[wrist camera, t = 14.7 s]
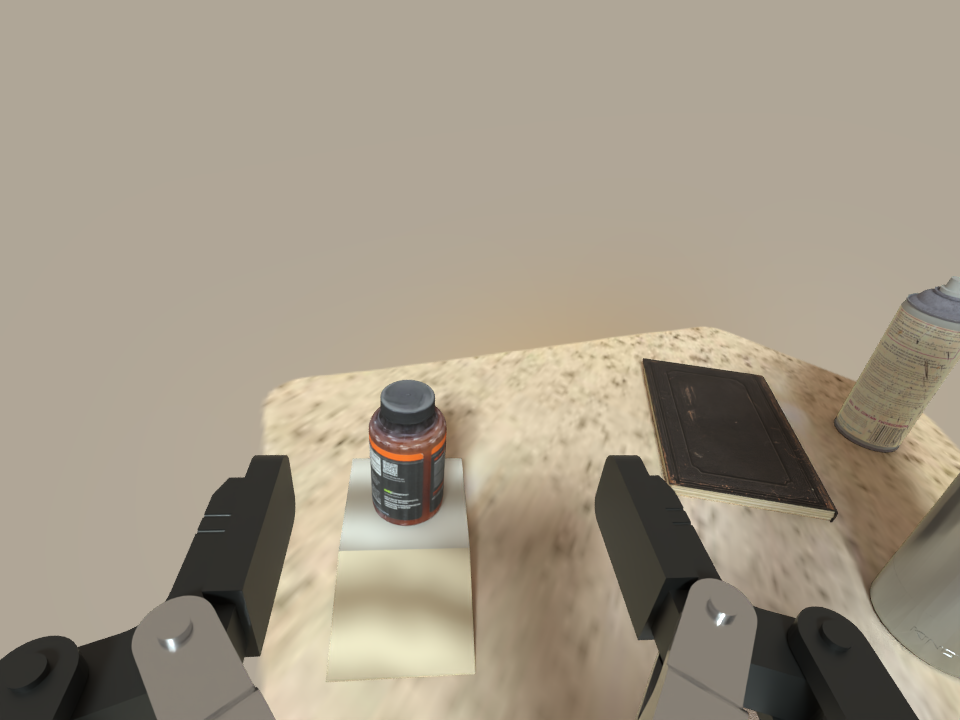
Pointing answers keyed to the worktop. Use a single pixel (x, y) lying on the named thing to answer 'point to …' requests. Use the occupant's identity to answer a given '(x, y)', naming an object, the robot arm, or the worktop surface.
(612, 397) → the worktop surface
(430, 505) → the supplement bottle
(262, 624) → the robot arm
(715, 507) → the worktop surface
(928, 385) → the aerosol can
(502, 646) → the worktop surface
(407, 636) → the ramp bench
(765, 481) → the hardcover book
